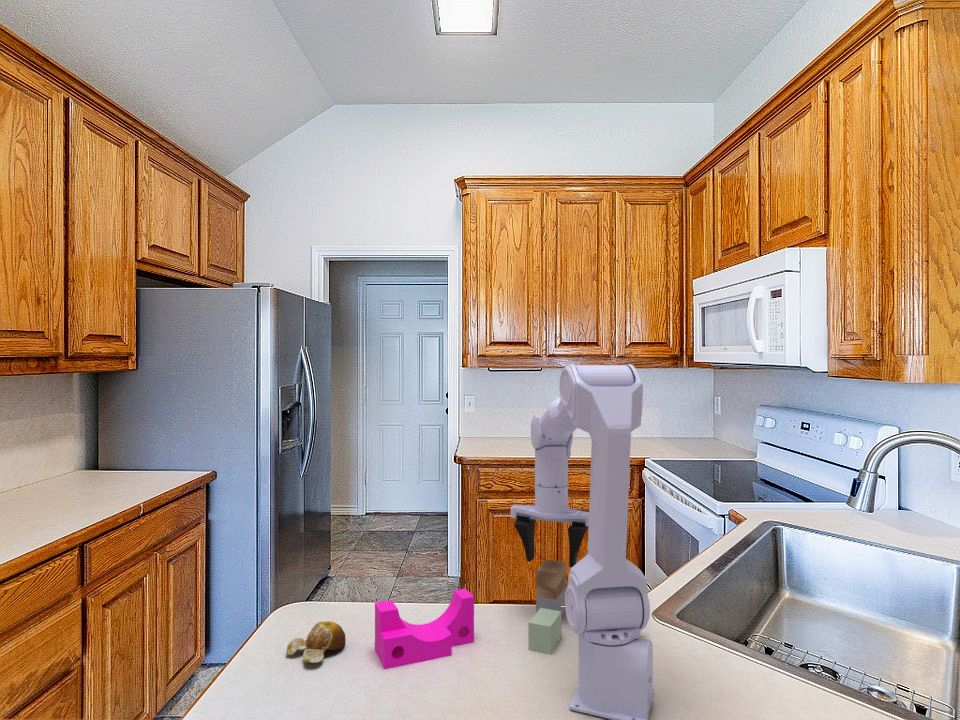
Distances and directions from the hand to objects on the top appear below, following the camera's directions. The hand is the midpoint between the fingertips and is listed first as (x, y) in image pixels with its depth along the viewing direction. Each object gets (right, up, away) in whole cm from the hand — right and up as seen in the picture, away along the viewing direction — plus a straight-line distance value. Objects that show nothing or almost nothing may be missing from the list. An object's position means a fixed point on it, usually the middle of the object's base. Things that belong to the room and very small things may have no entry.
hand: (551, 562), depth 102 cm
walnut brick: (0, -5, 0) cm, 5 cm away
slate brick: (0, -10, 0) cm, 10 cm away
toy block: (-21, -10, -12) cm, 26 cm away
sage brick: (-2, -10, -10) cm, 14 cm away
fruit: (-38, -11, -16) cm, 43 cm away
